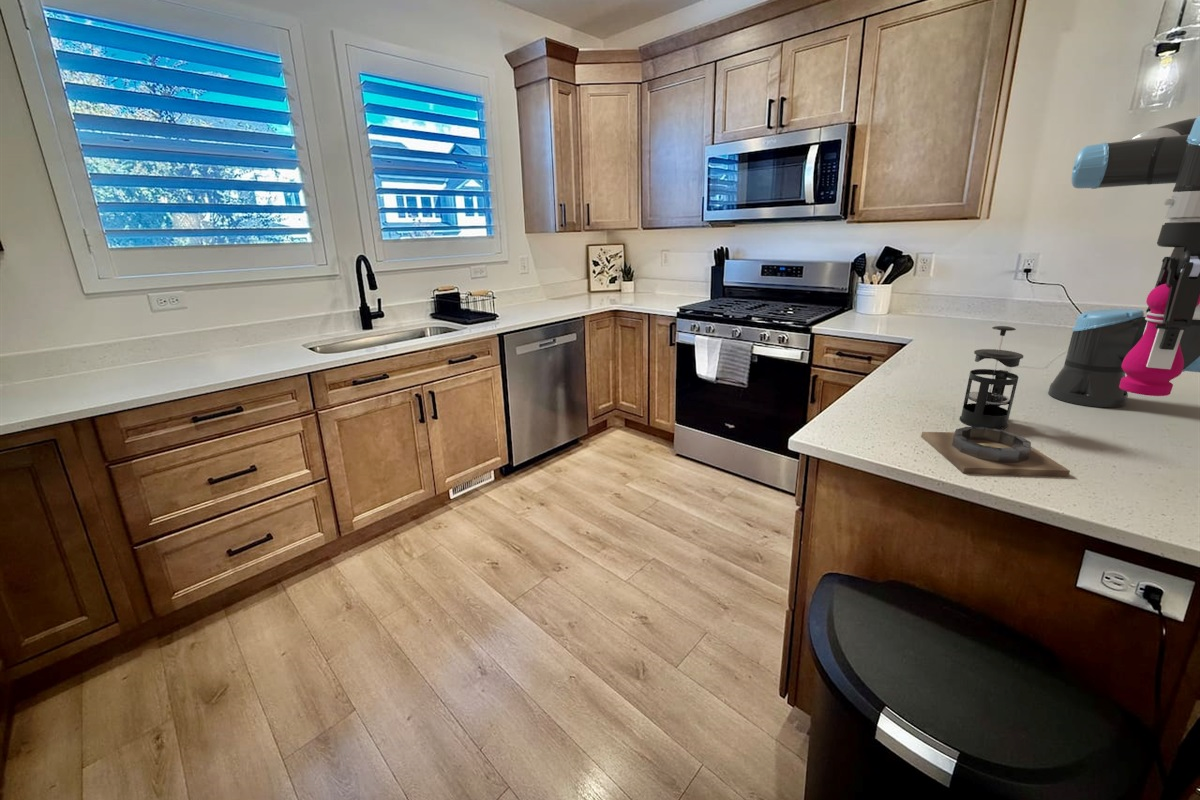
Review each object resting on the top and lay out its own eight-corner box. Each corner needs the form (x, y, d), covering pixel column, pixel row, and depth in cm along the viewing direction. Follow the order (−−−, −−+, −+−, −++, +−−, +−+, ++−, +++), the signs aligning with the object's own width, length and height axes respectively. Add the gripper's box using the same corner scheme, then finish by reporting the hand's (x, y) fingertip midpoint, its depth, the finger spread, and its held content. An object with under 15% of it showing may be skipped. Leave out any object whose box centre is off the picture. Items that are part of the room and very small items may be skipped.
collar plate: (1009, 438, 112) (1010, 433, 112) (1068, 476, 95) (1070, 470, 95) (921, 436, 115) (922, 431, 114) (963, 473, 98) (964, 467, 97)
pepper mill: (1103, 385, 92) (1136, 272, 85) (1140, 383, 92) (1176, 270, 86) (1147, 398, 85) (1187, 275, 79) (1187, 395, 86) (1230, 273, 79)
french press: (997, 434, 115) (1021, 333, 107) (951, 422, 122) (970, 327, 114) (1017, 421, 121) (1040, 325, 114) (971, 411, 128) (990, 320, 121)
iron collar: (1004, 438, 109) (1007, 427, 109) (1043, 463, 98) (1046, 451, 97) (941, 436, 111) (943, 426, 110) (972, 461, 100) (974, 450, 99)
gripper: (1149, 220, 89) (1112, 348, 97) (1181, 222, 74) (1134, 373, 82) (1213, 218, 85) (1169, 352, 93) (1260, 220, 70) (1203, 380, 77)
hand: (1152, 362), depth 87 cm, fingers closed on pepper mill, 7 cm apart
